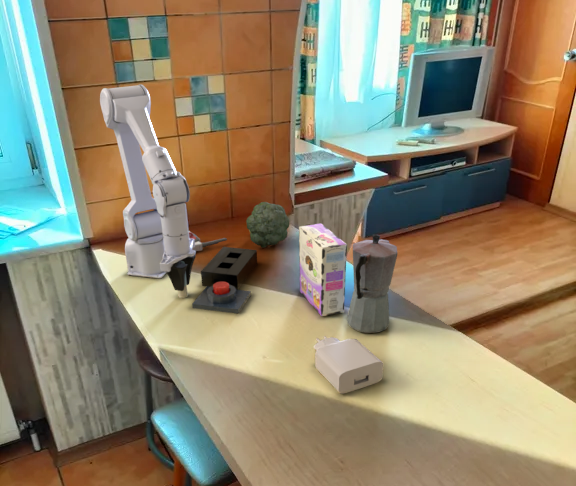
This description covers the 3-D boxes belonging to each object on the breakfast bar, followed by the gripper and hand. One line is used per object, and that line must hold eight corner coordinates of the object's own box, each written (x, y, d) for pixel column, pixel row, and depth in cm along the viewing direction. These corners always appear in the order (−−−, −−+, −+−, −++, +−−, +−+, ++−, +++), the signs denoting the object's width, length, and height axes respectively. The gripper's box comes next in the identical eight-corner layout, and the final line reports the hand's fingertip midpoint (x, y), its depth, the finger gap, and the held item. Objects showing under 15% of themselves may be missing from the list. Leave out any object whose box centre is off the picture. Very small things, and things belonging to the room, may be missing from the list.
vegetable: (279, 220, 174) (304, 212, 161) (263, 259, 172) (286, 254, 158) (245, 200, 169) (267, 189, 156) (227, 239, 167) (249, 232, 153)
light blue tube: (176, 297, 138) (171, 262, 133) (180, 293, 140) (176, 258, 135) (185, 299, 137) (181, 263, 133) (189, 294, 139) (186, 259, 135)
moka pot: (399, 313, 130) (407, 227, 120) (378, 347, 118) (385, 256, 108) (358, 304, 133) (363, 221, 123) (334, 337, 121) (336, 248, 111)
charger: (340, 342, 120) (382, 381, 108) (300, 354, 116) (338, 395, 105) (341, 322, 117) (384, 360, 106) (299, 333, 114) (339, 373, 102)
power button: (211, 294, 133) (210, 287, 132) (217, 287, 136) (216, 280, 135) (226, 296, 132) (225, 289, 132) (231, 289, 135) (231, 282, 134)
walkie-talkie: (161, 261, 155) (228, 245, 164) (159, 246, 153) (227, 230, 162) (149, 250, 162) (215, 235, 171) (147, 235, 160) (213, 220, 169)
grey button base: (192, 308, 133) (191, 296, 132) (207, 290, 141) (206, 279, 139) (238, 314, 131) (237, 302, 129) (251, 295, 138) (250, 284, 137)
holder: (202, 286, 143) (200, 271, 141) (224, 260, 155) (223, 246, 153) (238, 290, 140) (237, 275, 138) (257, 264, 153) (256, 249, 151)
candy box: (345, 313, 130) (348, 243, 122) (320, 317, 129) (322, 248, 120) (321, 286, 142) (322, 221, 133) (298, 290, 140) (298, 225, 132)
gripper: (178, 246, 123) (185, 303, 130) (204, 222, 135) (209, 275, 142) (148, 243, 125) (156, 299, 132) (176, 219, 137) (182, 272, 144)
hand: (182, 287), depth 137 cm, fingers closed
